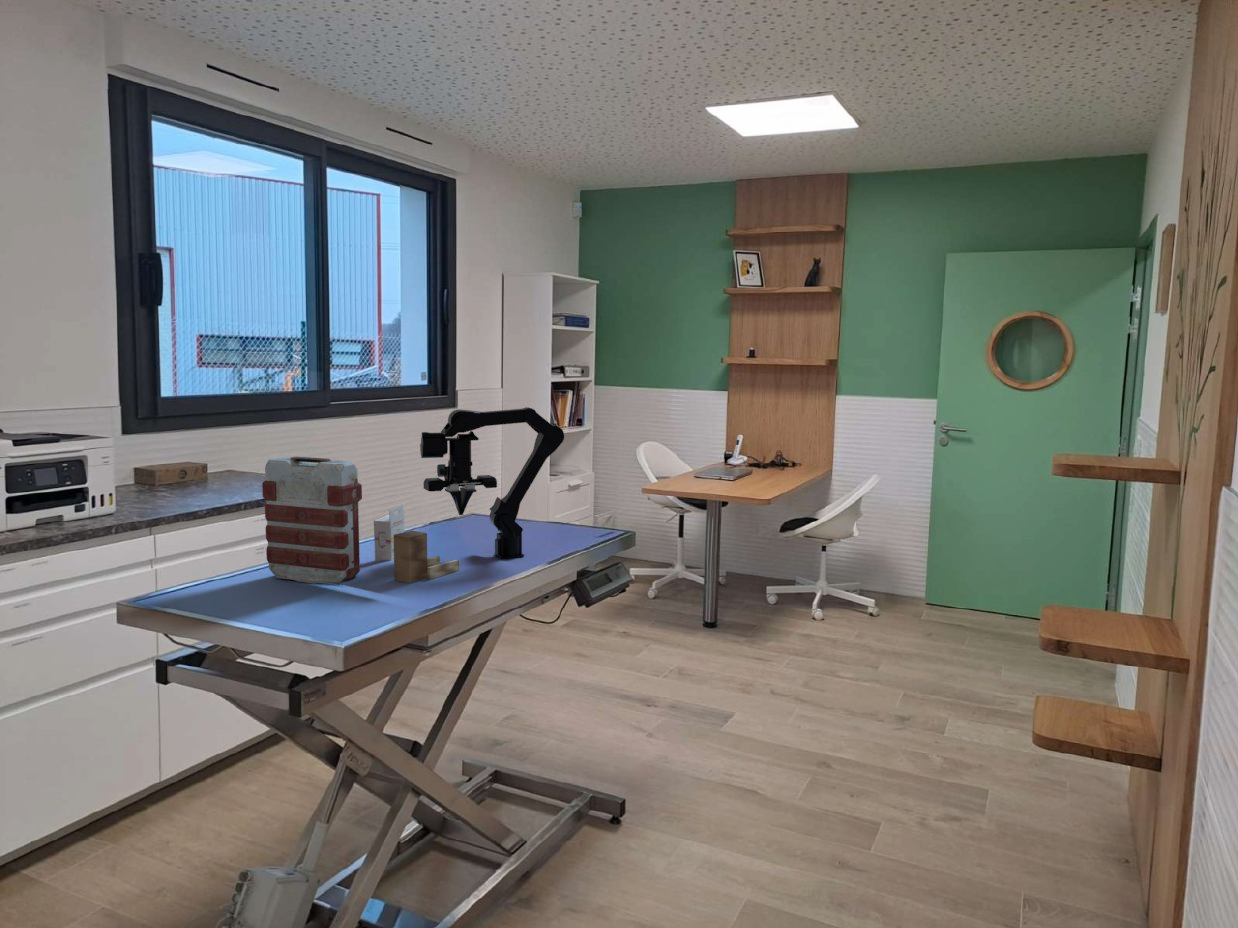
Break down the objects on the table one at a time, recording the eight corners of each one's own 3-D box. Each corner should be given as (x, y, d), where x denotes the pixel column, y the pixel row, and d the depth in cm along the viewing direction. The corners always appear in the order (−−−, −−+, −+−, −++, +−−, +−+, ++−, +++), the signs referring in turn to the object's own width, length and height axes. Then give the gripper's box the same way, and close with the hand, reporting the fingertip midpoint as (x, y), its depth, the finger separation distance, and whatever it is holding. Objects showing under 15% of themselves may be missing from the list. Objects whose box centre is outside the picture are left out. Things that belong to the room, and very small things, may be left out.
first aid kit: (365, 580, 220) (362, 458, 216) (344, 588, 212) (340, 462, 209) (287, 571, 228) (283, 453, 224) (264, 579, 220) (259, 457, 216)
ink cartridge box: (388, 556, 245) (387, 503, 243) (405, 557, 244) (404, 504, 242) (373, 564, 236) (372, 508, 235) (391, 565, 236) (390, 509, 234)
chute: (439, 568, 232) (438, 553, 232) (468, 574, 227) (468, 559, 226) (386, 583, 217) (385, 567, 217) (416, 590, 212) (415, 573, 211)
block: (412, 574, 221) (412, 530, 220) (427, 577, 218) (426, 533, 217) (394, 579, 216) (393, 534, 215) (409, 583, 213) (408, 537, 212)
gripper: (484, 452, 252) (484, 507, 254) (417, 455, 243) (418, 512, 245) (497, 457, 242) (497, 514, 244) (428, 460, 233) (429, 519, 235)
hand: (460, 514), depth 242 cm, fingers closed
